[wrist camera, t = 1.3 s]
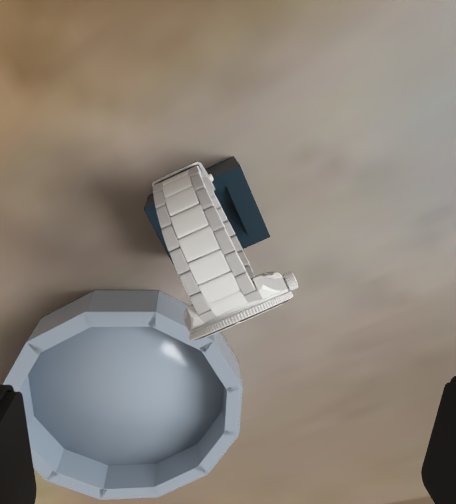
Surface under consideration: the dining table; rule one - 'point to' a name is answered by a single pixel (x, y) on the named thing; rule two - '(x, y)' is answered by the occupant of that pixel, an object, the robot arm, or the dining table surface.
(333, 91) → the dining table surface
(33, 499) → the robot arm
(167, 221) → the watch
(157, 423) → the dish
